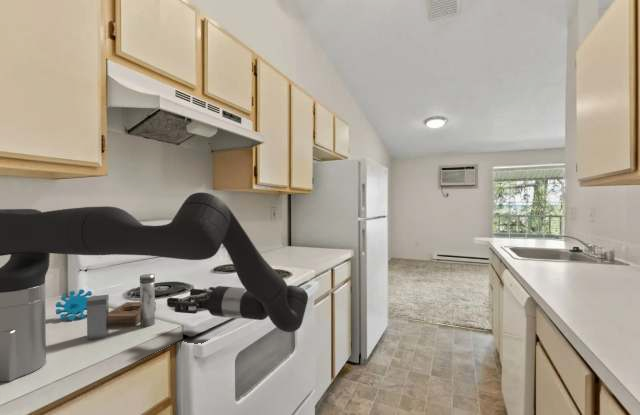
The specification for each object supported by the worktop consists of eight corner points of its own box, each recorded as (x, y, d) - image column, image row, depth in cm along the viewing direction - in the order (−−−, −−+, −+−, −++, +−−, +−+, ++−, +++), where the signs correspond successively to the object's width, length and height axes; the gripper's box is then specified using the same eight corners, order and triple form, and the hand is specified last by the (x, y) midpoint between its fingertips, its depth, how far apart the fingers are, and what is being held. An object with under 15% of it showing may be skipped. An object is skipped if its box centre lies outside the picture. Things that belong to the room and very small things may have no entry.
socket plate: (134, 326, 86) (134, 315, 86) (101, 326, 86) (101, 316, 86) (155, 311, 98) (155, 301, 98) (126, 311, 98) (126, 302, 98)
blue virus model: (48, 318, 87) (62, 287, 94) (52, 328, 91) (64, 297, 98) (95, 318, 92) (104, 288, 98) (96, 327, 95) (106, 298, 102)
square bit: (106, 337, 79) (106, 298, 79) (86, 340, 77) (86, 300, 77) (109, 331, 83) (108, 294, 83) (90, 334, 81) (89, 296, 81)
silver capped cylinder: (151, 327, 86) (150, 276, 85) (137, 327, 85) (137, 277, 85) (157, 321, 89) (157, 273, 89) (144, 322, 89) (144, 274, 89)
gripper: (214, 327, 72) (159, 320, 77) (246, 307, 86) (197, 302, 91) (214, 295, 72) (159, 290, 77) (246, 280, 86) (197, 277, 91)
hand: (180, 297), depth 84 cm, fingers open, 8 cm apart
